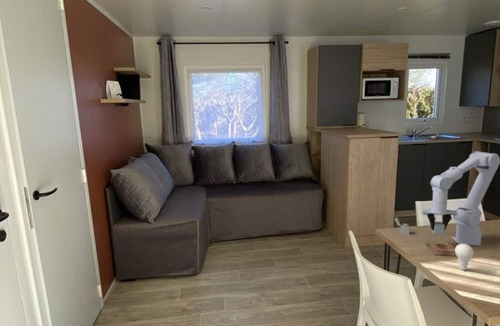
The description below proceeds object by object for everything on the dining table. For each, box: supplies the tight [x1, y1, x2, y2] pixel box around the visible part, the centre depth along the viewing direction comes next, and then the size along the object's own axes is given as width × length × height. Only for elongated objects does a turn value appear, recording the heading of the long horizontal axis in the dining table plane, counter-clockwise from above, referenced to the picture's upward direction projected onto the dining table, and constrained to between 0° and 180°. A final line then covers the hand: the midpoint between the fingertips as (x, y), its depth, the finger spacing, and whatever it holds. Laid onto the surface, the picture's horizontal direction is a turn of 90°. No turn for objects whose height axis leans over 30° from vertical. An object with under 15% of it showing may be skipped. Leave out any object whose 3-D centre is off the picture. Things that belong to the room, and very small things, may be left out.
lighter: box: [394, 217, 411, 236], centre depth 160 cm, size 7×2×8 cm, turn 55°
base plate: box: [425, 242, 458, 258], centre depth 140 cm, size 11×11×2 cm
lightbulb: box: [455, 244, 475, 271], centre depth 122 cm, size 6×6×11 cm
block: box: [431, 221, 445, 235], centre depth 143 cm, size 4×4×4 cm
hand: (438, 229), depth 143 cm, fingers closed on block, 4 cm apart
